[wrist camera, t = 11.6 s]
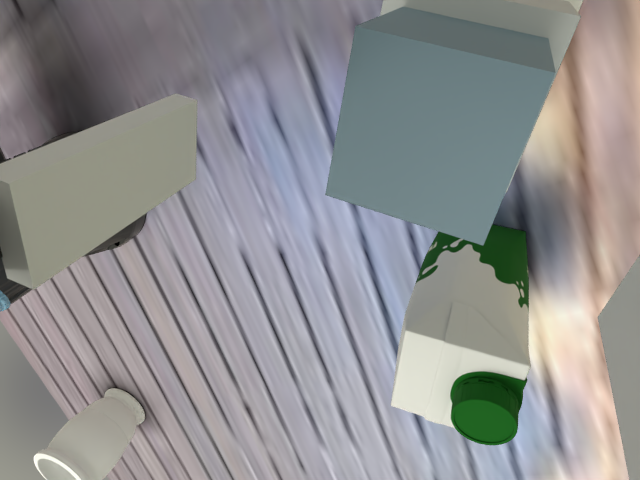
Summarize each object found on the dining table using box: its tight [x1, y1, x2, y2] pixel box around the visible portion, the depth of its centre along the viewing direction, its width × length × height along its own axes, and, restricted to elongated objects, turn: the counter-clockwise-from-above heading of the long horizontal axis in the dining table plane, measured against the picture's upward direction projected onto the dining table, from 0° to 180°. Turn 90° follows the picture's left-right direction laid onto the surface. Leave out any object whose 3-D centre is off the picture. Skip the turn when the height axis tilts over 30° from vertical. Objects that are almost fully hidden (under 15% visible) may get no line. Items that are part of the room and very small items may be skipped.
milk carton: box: [391, 225, 531, 445], centre depth 38 cm, size 9×9×20 cm
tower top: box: [380, 0, 581, 192], centre depth 28 cm, size 9×9×8 cm
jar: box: [34, 388, 145, 480], centre depth 79 cm, size 11×10×15 cm
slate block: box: [325, 7, 556, 245], centre depth 22 cm, size 7×7×8 cm
